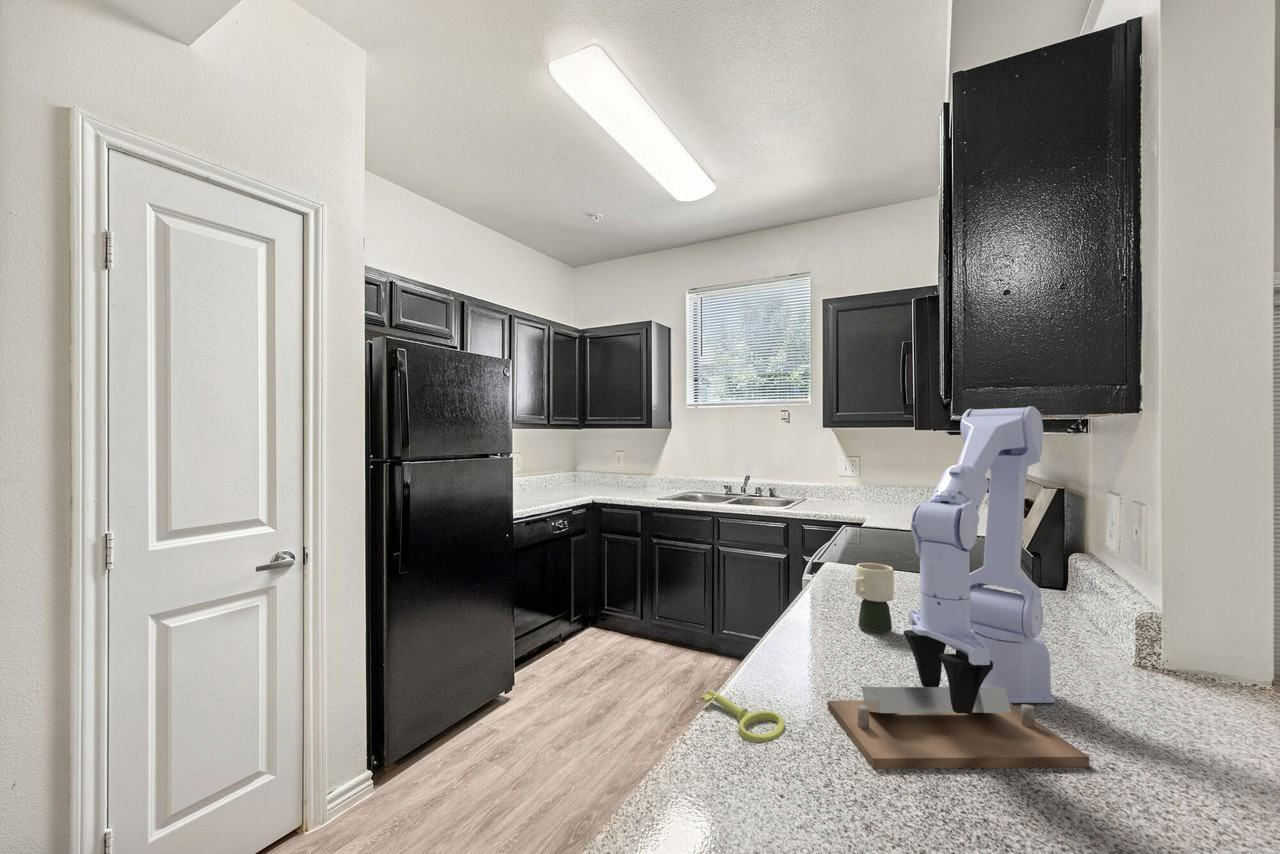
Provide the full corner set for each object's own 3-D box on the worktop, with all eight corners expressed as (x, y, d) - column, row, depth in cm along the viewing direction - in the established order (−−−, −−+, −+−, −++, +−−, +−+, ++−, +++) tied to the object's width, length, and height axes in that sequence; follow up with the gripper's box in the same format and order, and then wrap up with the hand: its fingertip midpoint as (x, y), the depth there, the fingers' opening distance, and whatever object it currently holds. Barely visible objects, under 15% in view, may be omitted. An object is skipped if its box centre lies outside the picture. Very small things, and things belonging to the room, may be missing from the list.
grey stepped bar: (988, 710, 74) (982, 686, 75) (1011, 712, 69) (1004, 687, 71) (865, 710, 74) (861, 686, 75) (881, 713, 69) (876, 687, 70)
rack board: (1005, 708, 77) (1004, 682, 77) (1089, 766, 63) (1088, 736, 63) (828, 709, 76) (827, 683, 76) (873, 768, 62) (872, 737, 62)
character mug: (878, 621, 115) (877, 560, 115) (908, 631, 108) (907, 567, 109) (842, 629, 110) (841, 565, 110) (871, 640, 103) (871, 573, 104)
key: (708, 701, 79) (708, 686, 79) (789, 726, 72) (789, 710, 73) (685, 722, 73) (685, 707, 73) (771, 752, 66) (771, 735, 67)
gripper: (887, 579, 77) (888, 674, 77) (948, 611, 63) (949, 727, 62) (935, 580, 78) (936, 674, 77) (1006, 611, 63) (1007, 727, 63)
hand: (945, 698), depth 70 cm, fingers open, 6 cm apart
